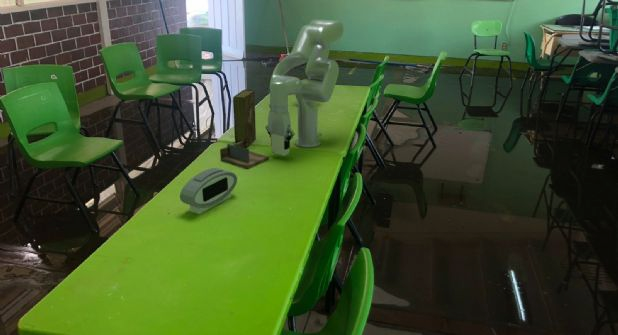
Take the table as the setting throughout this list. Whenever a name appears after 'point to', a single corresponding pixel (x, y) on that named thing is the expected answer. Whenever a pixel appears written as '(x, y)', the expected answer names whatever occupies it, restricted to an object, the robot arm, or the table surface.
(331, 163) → the table surface
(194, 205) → the alarm clock
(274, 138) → the plain rectangular box
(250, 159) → the shelf
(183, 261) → the table surface
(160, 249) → the table surface
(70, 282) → the table surface
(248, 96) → the book
